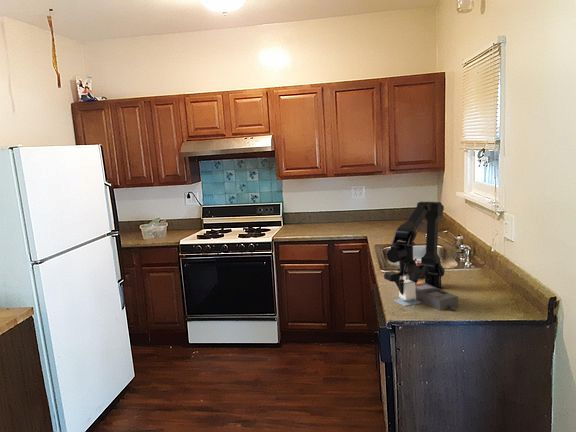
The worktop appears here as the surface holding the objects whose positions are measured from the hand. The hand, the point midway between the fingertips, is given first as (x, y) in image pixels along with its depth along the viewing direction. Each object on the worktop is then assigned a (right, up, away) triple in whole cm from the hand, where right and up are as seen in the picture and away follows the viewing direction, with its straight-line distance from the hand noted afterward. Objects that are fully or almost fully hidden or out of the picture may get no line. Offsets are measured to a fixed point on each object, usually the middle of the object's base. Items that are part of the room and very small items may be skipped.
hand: (407, 293), depth 187 cm
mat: (0, -4, 0) cm, 4 cm away
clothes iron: (+52, +21, +142) cm, 152 cm away
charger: (0, -2, 0) cm, 2 cm away
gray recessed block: (+11, -3, -1) cm, 11 cm away
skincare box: (+7, -1, +19) cm, 21 cm away
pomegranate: (+14, +2, +34) cm, 37 cm away
